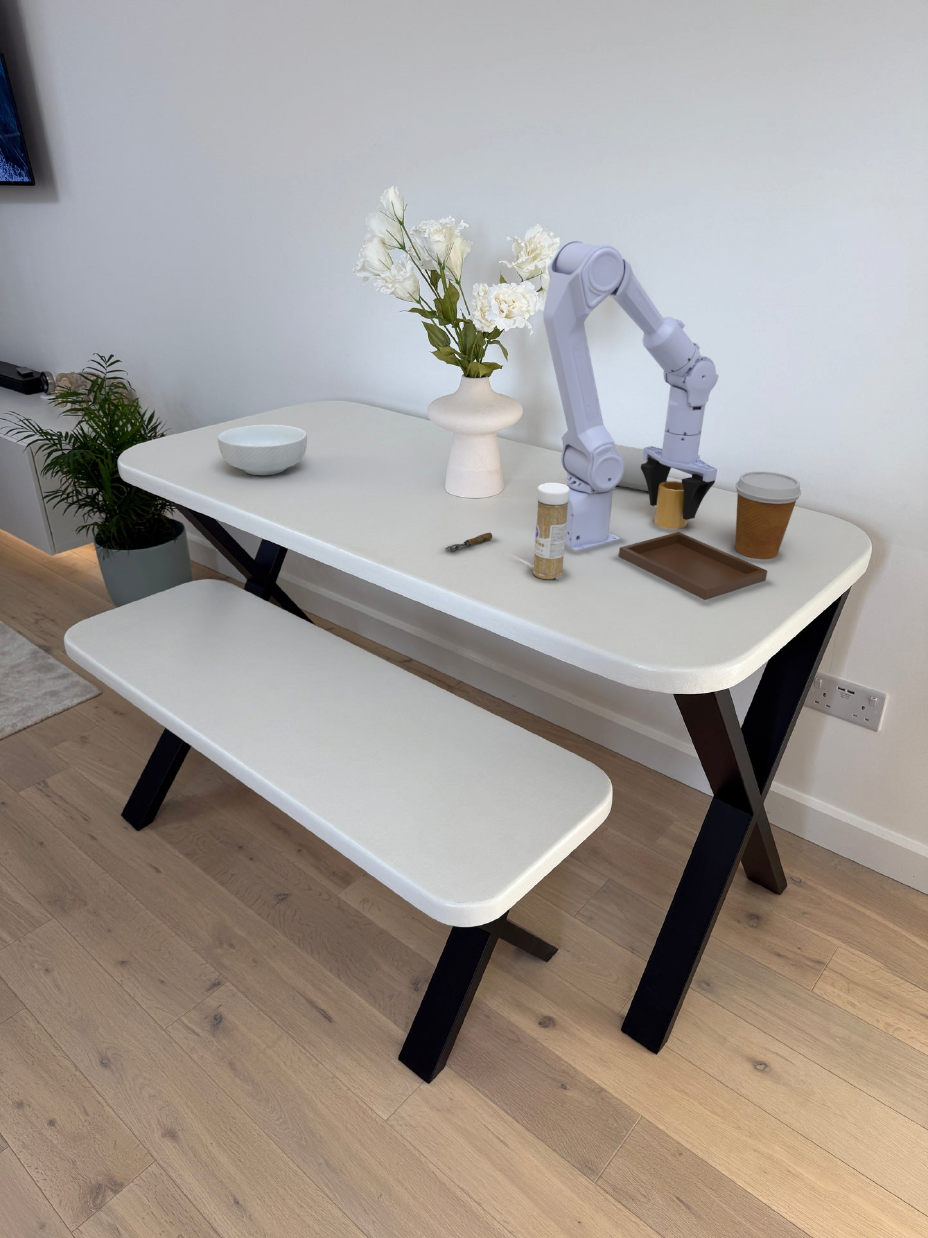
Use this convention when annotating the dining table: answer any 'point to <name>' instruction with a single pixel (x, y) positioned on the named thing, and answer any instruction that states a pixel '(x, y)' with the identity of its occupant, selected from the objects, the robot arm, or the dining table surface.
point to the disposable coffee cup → (763, 512)
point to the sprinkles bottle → (550, 530)
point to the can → (632, 467)
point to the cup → (670, 505)
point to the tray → (693, 565)
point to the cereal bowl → (263, 448)
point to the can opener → (472, 541)
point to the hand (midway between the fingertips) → (671, 511)
